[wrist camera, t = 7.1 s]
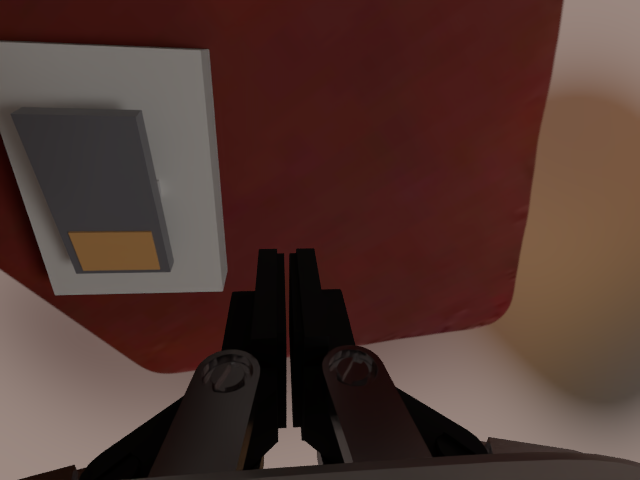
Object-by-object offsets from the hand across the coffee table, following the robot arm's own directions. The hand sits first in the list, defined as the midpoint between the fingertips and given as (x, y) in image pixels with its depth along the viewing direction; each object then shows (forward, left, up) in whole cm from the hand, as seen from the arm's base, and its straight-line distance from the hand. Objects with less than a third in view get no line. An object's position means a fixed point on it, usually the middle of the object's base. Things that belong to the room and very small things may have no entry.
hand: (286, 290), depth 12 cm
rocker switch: (+5, -14, -20) cm, 25 cm away
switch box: (+5, -14, -27) cm, 31 cm away
